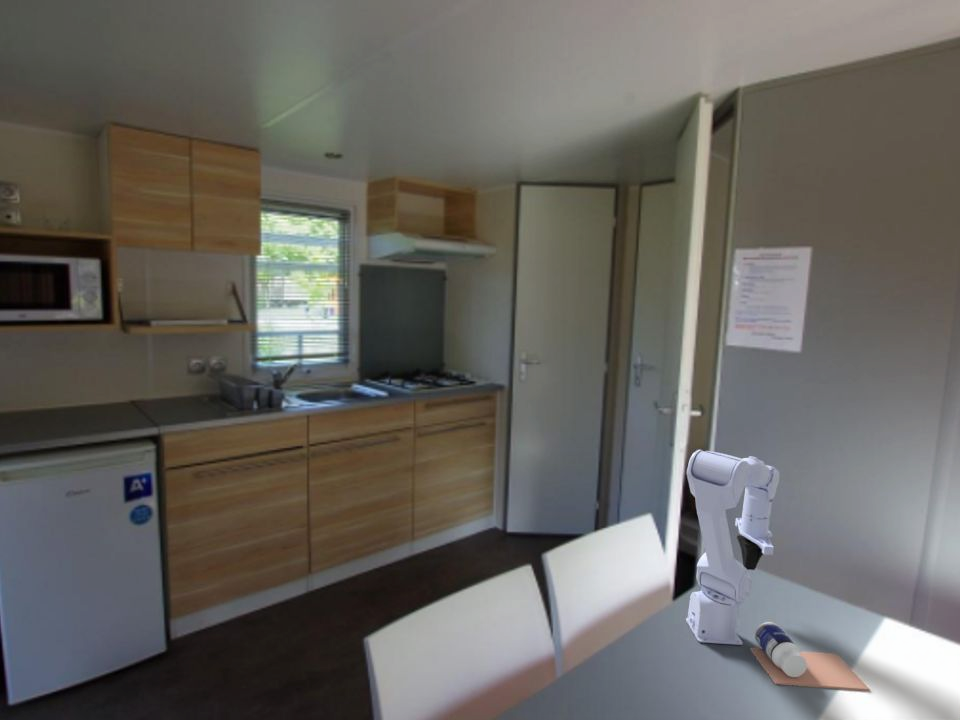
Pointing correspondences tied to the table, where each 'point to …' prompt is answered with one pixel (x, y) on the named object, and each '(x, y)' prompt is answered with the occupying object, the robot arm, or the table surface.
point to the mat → (815, 672)
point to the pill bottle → (780, 649)
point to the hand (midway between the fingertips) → (749, 568)
